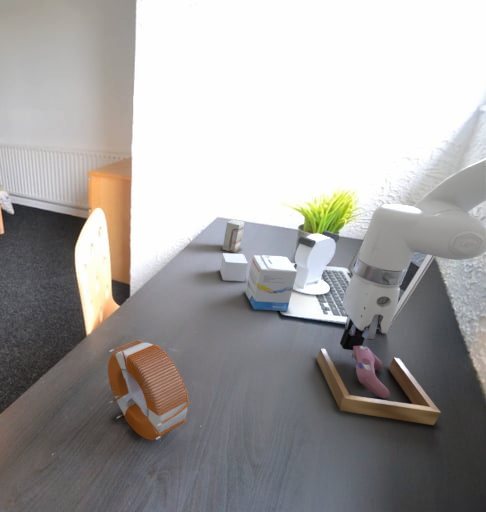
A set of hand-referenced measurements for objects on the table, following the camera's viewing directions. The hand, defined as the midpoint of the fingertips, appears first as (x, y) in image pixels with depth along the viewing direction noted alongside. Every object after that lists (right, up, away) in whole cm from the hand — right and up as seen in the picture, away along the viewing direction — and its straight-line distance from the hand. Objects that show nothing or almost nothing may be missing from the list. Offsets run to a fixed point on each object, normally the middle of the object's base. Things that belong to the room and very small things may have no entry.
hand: (349, 347), depth 77 cm
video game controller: (-1, -5, -5) cm, 7 cm away
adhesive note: (-11, +13, +33) cm, 37 cm away
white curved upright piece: (+8, +11, +28) cm, 31 cm away
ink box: (-8, +7, +20) cm, 23 cm away
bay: (-2, -6, -7) cm, 10 cm away
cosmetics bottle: (-5, +21, +50) cm, 55 cm away
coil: (-46, -10, -13) cm, 48 cm away
